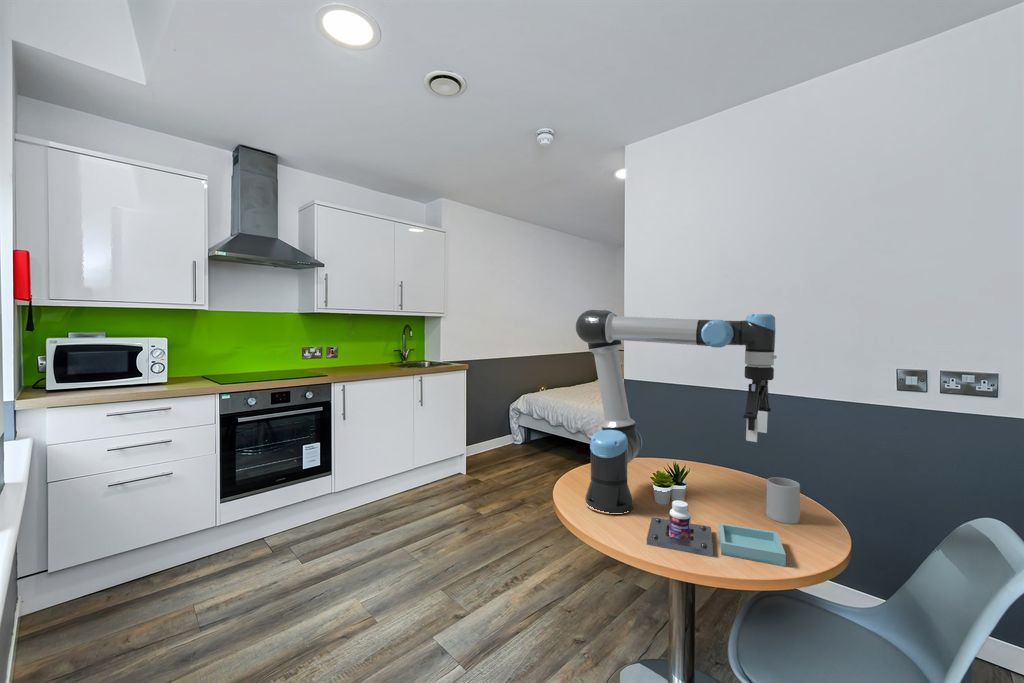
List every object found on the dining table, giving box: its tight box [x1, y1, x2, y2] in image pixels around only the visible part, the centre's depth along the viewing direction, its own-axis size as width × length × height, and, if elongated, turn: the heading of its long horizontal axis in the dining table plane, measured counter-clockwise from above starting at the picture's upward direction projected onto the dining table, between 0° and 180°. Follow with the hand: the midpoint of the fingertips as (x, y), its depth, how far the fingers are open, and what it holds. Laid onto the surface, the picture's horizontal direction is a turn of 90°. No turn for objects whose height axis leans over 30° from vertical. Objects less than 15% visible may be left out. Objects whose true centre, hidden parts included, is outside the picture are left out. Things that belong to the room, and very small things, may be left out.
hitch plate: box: [646, 516, 714, 558], centre depth 117 cm, size 16×14×2 cm
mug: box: [765, 476, 801, 525], centre depth 130 cm, size 12×8×11 cm
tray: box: [718, 522, 787, 567], centre depth 111 cm, size 14×12×3 cm
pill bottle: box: [668, 499, 692, 540], centre depth 116 cm, size 5×5×10 cm
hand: (756, 436), depth 127 cm, fingers open, 13 cm apart
